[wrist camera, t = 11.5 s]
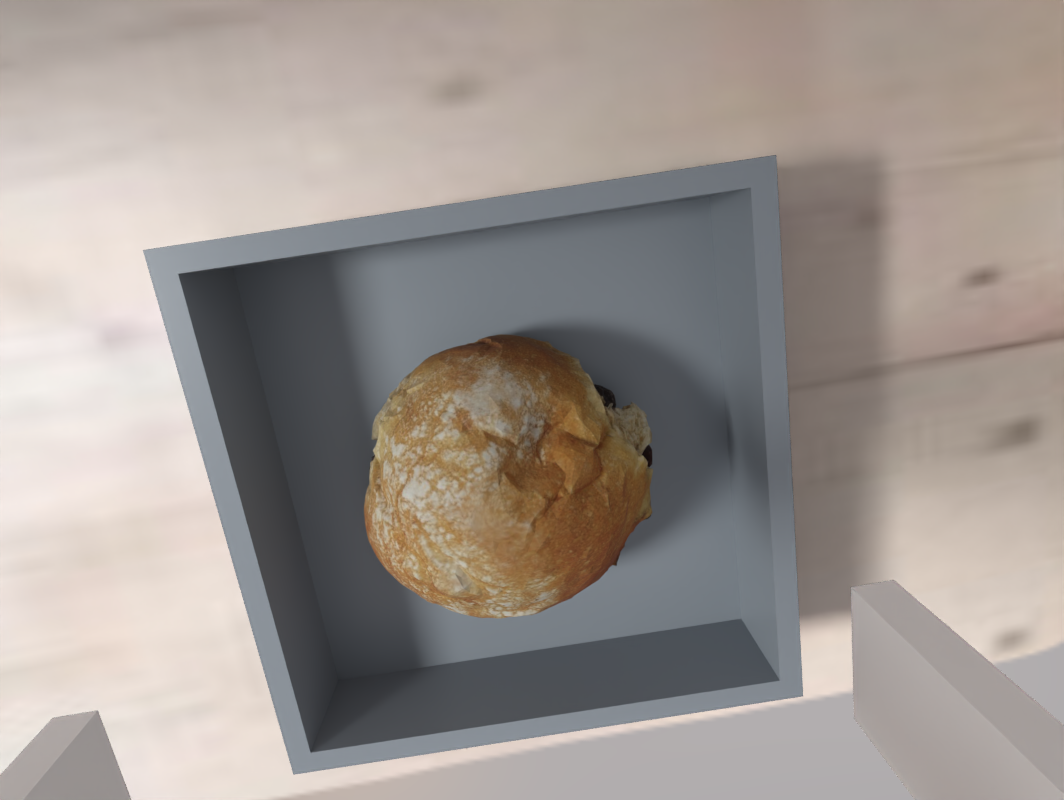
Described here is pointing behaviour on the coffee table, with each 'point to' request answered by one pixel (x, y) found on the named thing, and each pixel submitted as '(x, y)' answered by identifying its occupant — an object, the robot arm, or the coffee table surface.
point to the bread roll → (504, 478)
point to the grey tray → (633, 376)
